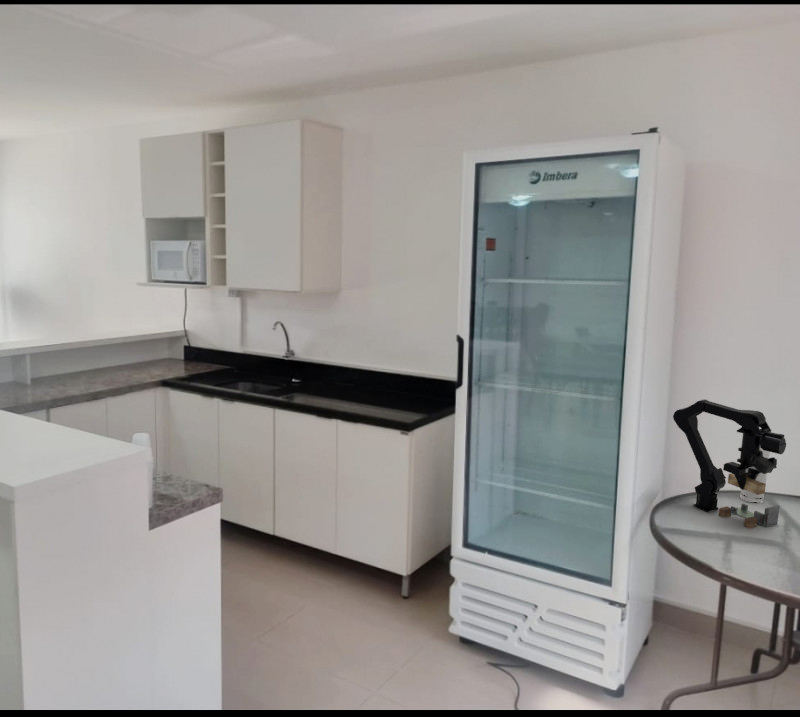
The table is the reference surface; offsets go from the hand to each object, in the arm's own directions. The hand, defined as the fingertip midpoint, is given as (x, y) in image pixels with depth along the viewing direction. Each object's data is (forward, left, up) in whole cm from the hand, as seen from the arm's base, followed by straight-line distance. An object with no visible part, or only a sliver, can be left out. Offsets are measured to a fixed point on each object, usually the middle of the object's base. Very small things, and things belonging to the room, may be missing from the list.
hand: (745, 488), depth 229 cm
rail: (0, 0, 0) cm, 0 cm away
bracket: (0, +6, -12) cm, 13 cm away
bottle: (-11, +22, -12) cm, 27 cm away
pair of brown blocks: (0, -2, -12) cm, 12 cm away
